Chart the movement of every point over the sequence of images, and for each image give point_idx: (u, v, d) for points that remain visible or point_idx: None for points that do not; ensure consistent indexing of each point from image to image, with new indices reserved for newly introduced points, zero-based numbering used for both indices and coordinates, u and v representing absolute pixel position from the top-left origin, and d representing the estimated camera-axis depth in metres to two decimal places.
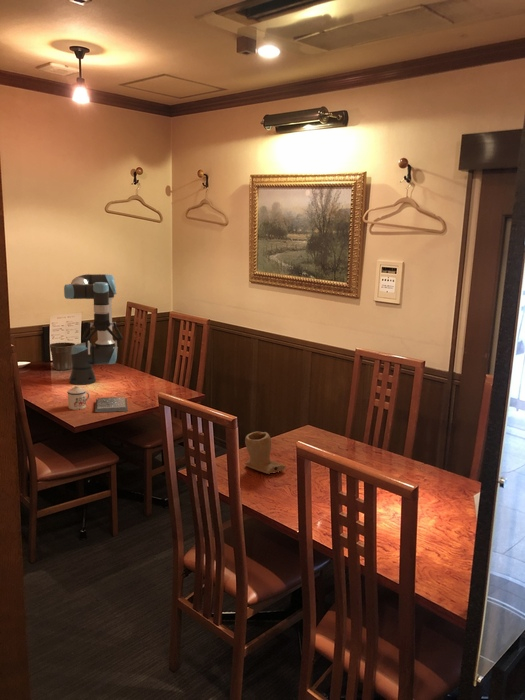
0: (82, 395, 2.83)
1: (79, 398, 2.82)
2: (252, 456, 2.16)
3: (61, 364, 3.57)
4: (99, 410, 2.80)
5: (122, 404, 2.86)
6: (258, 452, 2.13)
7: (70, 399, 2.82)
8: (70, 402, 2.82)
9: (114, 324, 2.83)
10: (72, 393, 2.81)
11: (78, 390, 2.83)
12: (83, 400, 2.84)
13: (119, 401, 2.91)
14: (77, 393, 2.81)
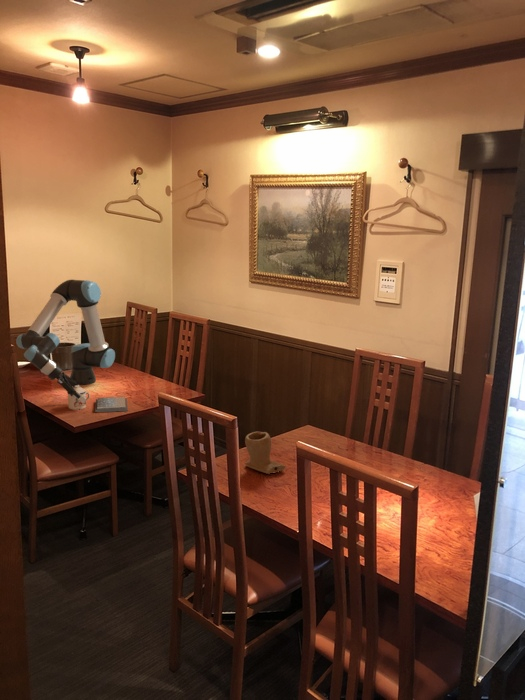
0: (82, 395, 2.83)
1: None
2: (252, 456, 2.16)
3: (61, 364, 3.57)
4: (99, 410, 2.80)
5: (122, 404, 2.86)
6: (257, 452, 2.13)
7: (70, 399, 2.82)
8: (70, 402, 2.82)
9: None
10: None
11: (78, 390, 2.83)
12: None
13: (119, 401, 2.91)
14: None
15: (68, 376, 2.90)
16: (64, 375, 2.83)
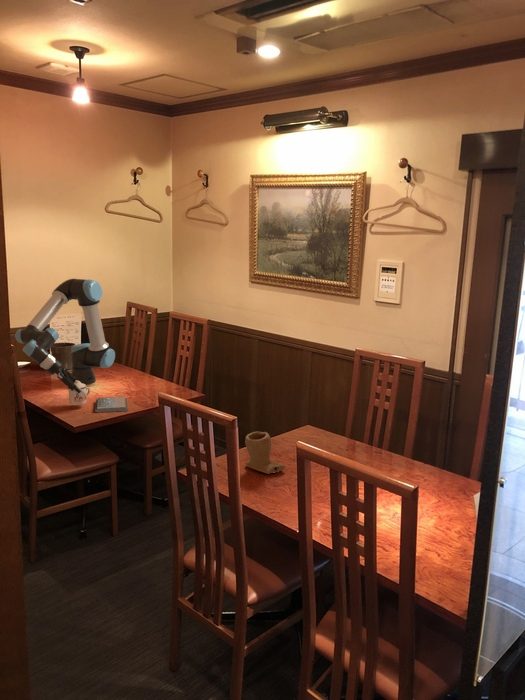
0: None
1: None
2: (252, 456, 2.16)
3: None
4: (99, 410, 2.80)
5: (122, 404, 2.86)
6: (258, 451, 2.13)
7: (70, 394, 2.82)
8: (70, 397, 2.83)
9: None
10: None
11: (78, 385, 2.83)
12: None
13: (119, 401, 2.91)
14: None
15: None
16: (63, 370, 2.82)
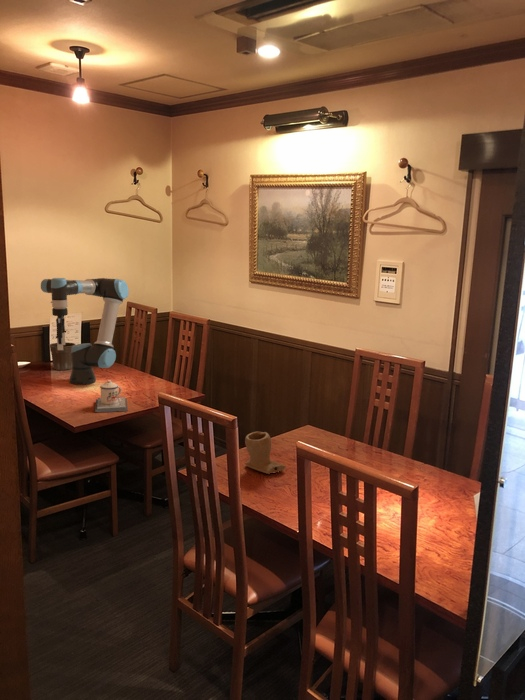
0: (115, 390, 2.85)
1: (112, 393, 2.85)
2: (252, 456, 2.16)
3: (61, 364, 3.57)
4: (99, 410, 2.80)
5: (122, 404, 2.86)
6: (257, 452, 2.13)
7: (103, 394, 2.84)
8: (103, 397, 2.85)
9: (56, 320, 2.84)
10: (105, 388, 2.83)
11: (111, 385, 2.85)
12: (115, 394, 2.86)
13: (119, 401, 2.91)
14: (110, 388, 2.83)
15: None
16: (64, 319, 2.92)
